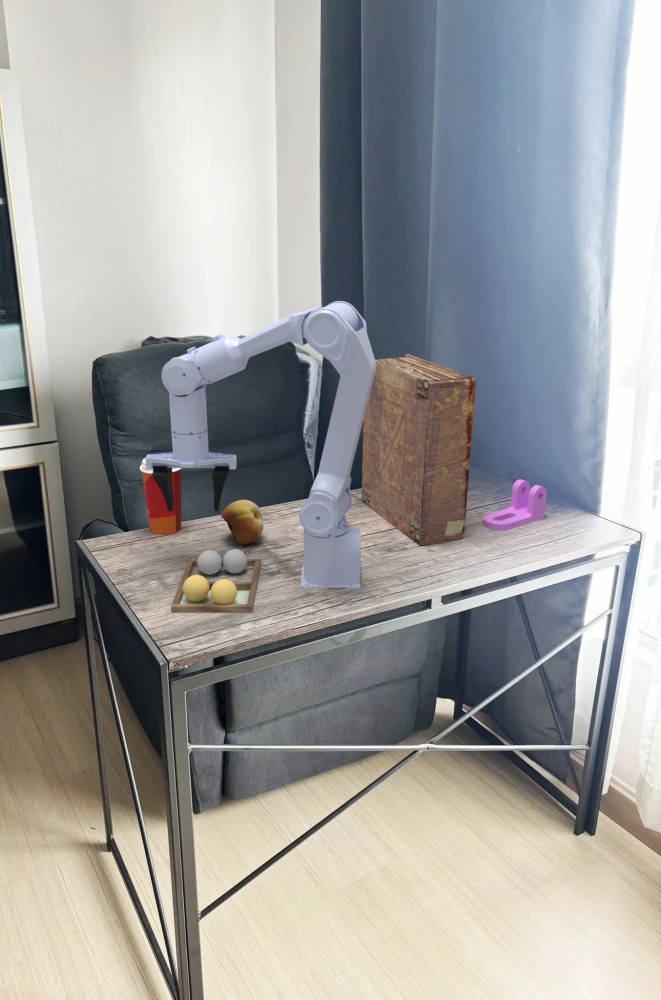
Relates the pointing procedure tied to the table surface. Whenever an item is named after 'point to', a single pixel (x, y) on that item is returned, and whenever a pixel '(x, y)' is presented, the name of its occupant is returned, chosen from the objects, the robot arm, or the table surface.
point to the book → (418, 448)
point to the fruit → (244, 520)
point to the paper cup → (162, 503)
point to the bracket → (519, 508)
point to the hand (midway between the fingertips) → (194, 509)
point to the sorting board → (183, 604)
